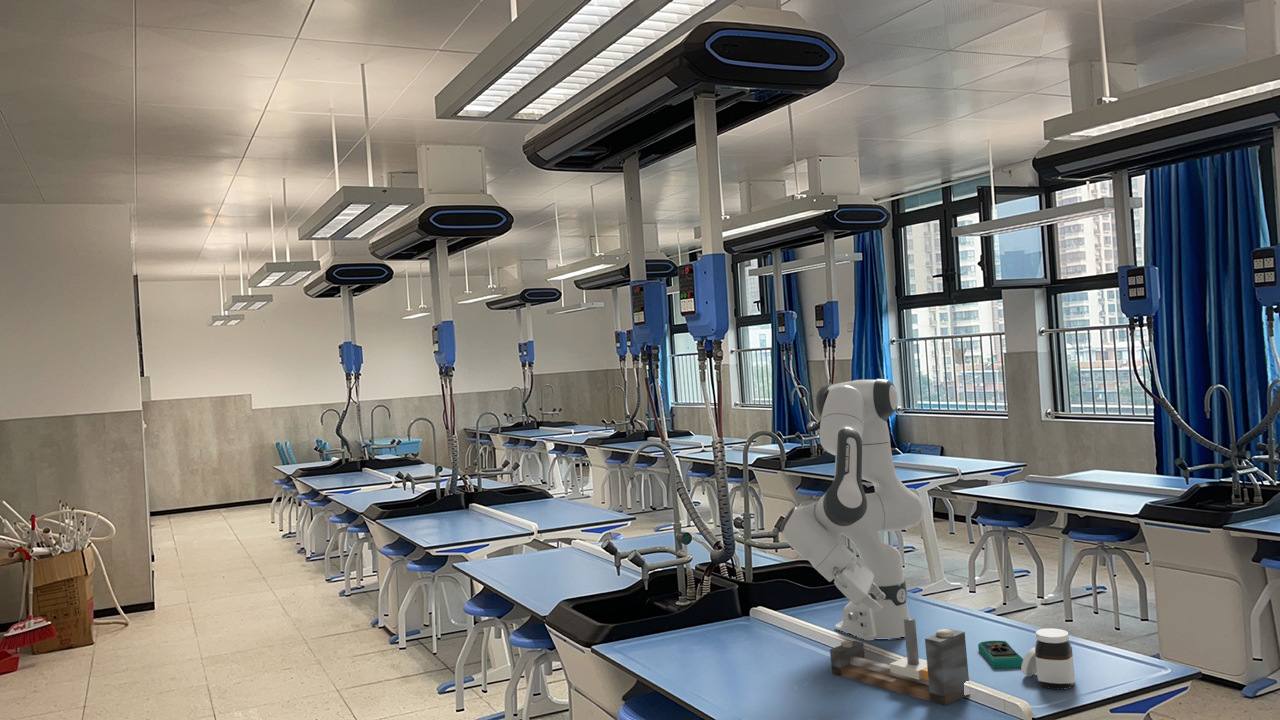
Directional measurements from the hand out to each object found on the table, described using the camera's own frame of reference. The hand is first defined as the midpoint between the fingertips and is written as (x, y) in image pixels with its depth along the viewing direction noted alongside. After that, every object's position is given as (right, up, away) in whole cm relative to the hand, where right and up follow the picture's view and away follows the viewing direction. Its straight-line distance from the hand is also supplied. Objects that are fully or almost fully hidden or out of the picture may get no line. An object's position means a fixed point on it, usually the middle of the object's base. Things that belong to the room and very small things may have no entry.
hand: (882, 604), depth 219 cm
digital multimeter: (+32, -17, +12) cm, 39 cm away
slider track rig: (+4, -19, +1) cm, 19 cm away
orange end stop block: (+10, -14, -8) cm, 19 cm away
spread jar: (+36, -16, -6) cm, 40 cm away
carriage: (+7, -15, -3) cm, 16 cm away
